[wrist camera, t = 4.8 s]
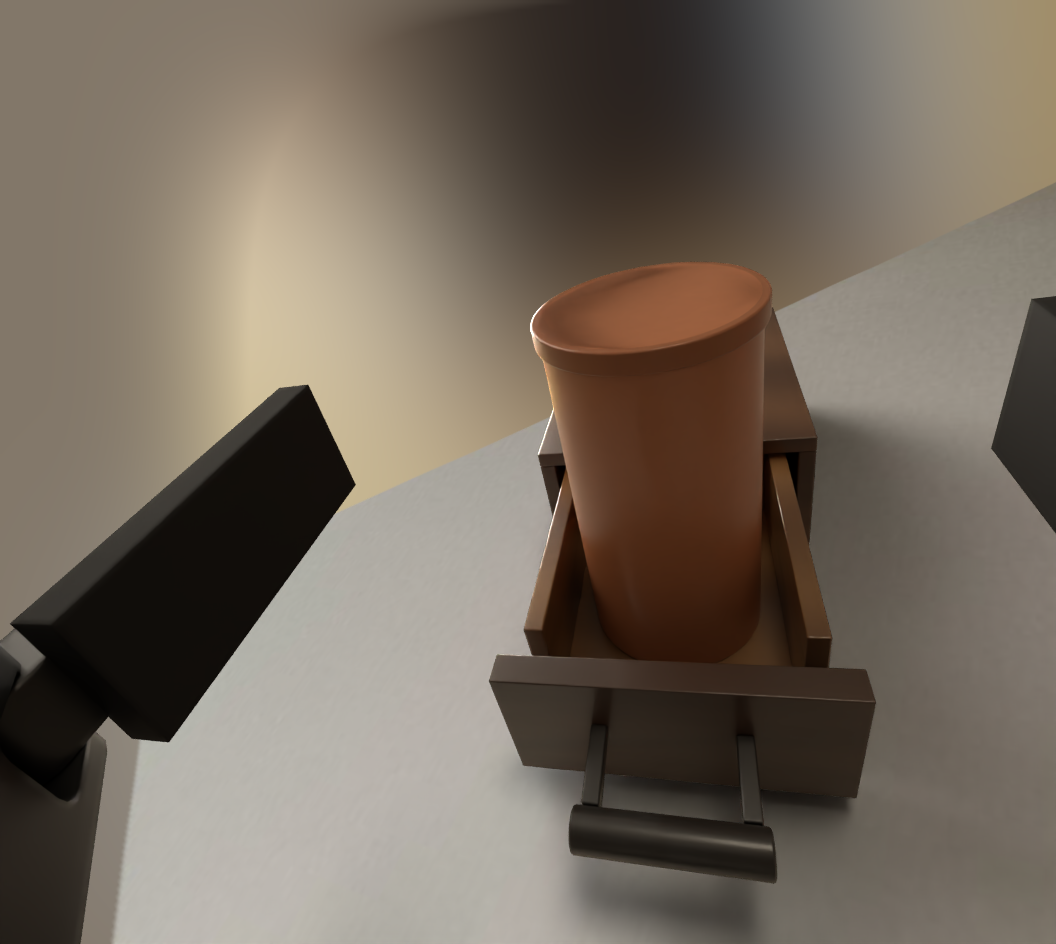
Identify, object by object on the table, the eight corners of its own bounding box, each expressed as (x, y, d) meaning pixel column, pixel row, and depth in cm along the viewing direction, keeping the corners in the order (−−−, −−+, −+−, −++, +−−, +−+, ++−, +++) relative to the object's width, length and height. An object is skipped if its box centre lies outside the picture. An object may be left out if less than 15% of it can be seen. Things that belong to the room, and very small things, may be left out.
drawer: (890, 944, 17) (922, 858, 14) (498, 881, 21) (453, 801, 18) (790, 515, 33) (795, 428, 29) (575, 521, 36) (558, 444, 33)
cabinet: (808, 555, 31) (817, 437, 27) (562, 558, 35) (537, 454, 31) (770, 402, 44) (772, 306, 40) (594, 417, 48) (579, 331, 44)
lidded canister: (562, 631, 28) (483, 343, 20) (640, 529, 33) (604, 262, 24) (724, 704, 23) (711, 364, 15) (789, 572, 28) (805, 259, 20)
